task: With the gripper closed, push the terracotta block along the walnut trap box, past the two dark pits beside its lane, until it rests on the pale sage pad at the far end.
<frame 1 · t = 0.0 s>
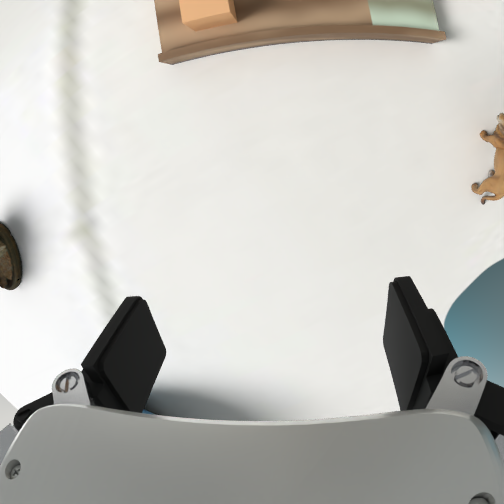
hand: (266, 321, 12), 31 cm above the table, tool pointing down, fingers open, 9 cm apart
lion figurine: (483, 151, 34), on the table
brown lumpy sculpture: (5, 258, 53), on the table
block: (213, 9, 28), point 3 cm above the table, touching trap box
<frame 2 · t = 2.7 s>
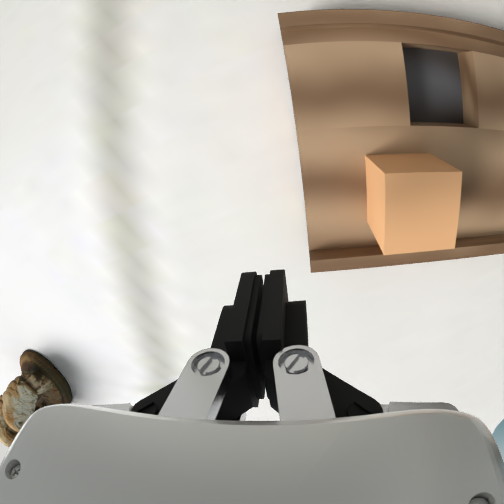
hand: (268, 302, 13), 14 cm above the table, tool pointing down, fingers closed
trap box: (487, 136, 20), on the table
brown lumpy sculpture: (47, 379, 47), on the table
block: (399, 187, 21), point 3 cm above the table, touching trap box
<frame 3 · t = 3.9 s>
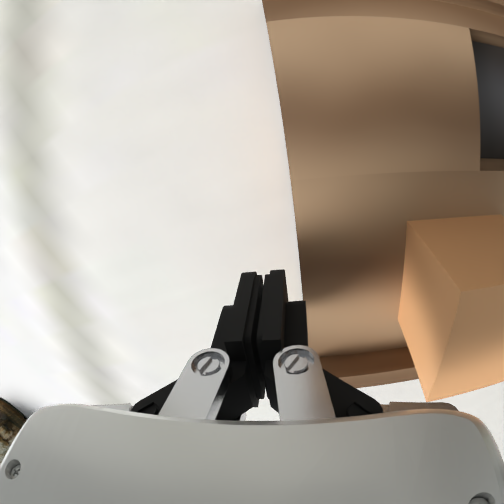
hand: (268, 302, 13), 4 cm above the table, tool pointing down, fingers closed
brown lumpy sculpture: (21, 425, 37), on the table
block: (451, 268, 12), point 3 cm above the table, touching trap box
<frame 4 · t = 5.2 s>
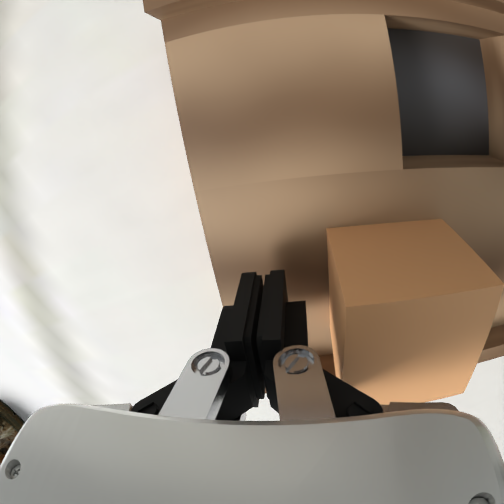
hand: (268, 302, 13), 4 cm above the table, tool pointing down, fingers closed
brown lumpy sculpture: (13, 421, 38), on the table
block: (385, 276, 13), point 3 cm above the table, touching gripper
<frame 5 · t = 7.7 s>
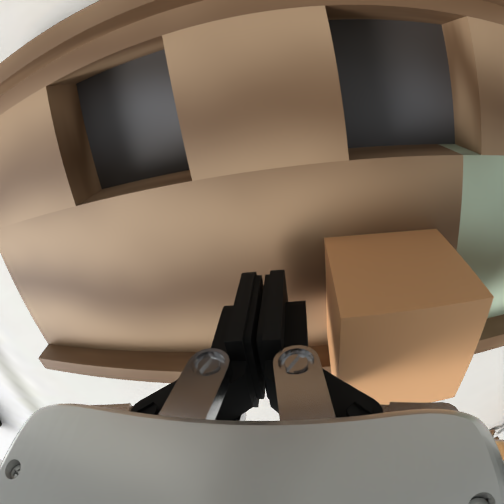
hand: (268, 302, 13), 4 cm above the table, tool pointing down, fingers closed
trap box: (275, 175, 15), on the table
block: (380, 284, 13), point 3 cm above the table, touching gripper
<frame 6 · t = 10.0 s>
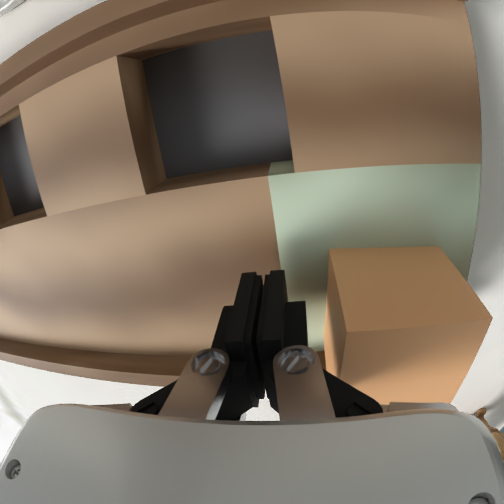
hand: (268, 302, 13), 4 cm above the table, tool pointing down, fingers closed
lion figurine: (454, 428, 24), on the table
trap box: (124, 204, 16), on the table
block: (380, 296, 13), point 3 cm above the table, touching gripper, trap box
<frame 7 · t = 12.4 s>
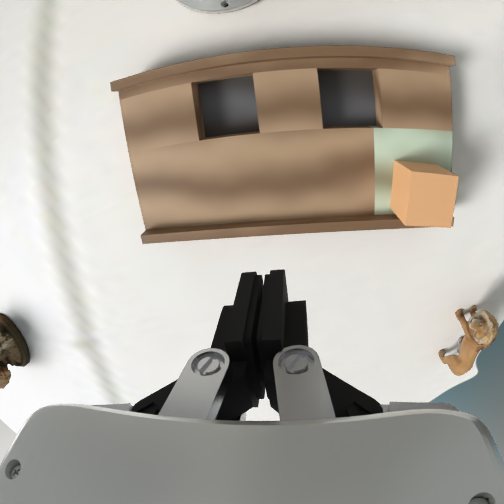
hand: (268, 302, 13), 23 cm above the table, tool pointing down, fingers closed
lion figurine: (456, 324, 40), on the table
trap box: (292, 137, 31), on the table
brown lumpy sculpture: (12, 341, 56), on the table
block: (413, 185, 29), point 3 cm above the table, touching trap box
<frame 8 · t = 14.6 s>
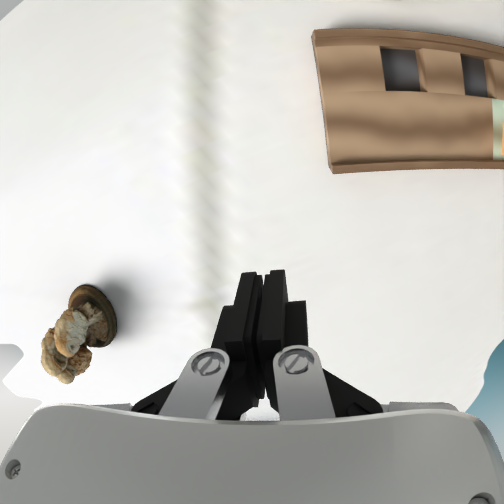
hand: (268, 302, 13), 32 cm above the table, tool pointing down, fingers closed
trap box: (438, 99, 34), on the table
brown lumpy sculpture: (93, 317, 60), on the table
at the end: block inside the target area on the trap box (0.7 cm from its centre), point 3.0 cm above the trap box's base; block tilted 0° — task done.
